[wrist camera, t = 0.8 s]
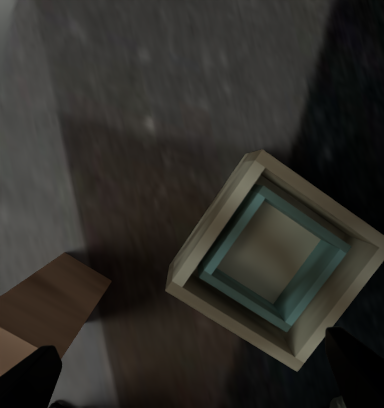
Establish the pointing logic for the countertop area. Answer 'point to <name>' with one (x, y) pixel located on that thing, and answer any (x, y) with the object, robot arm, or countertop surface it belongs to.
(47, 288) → the peg
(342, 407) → the pipe fitting
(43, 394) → the robot arm
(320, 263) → the socket box
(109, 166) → the countertop surface
